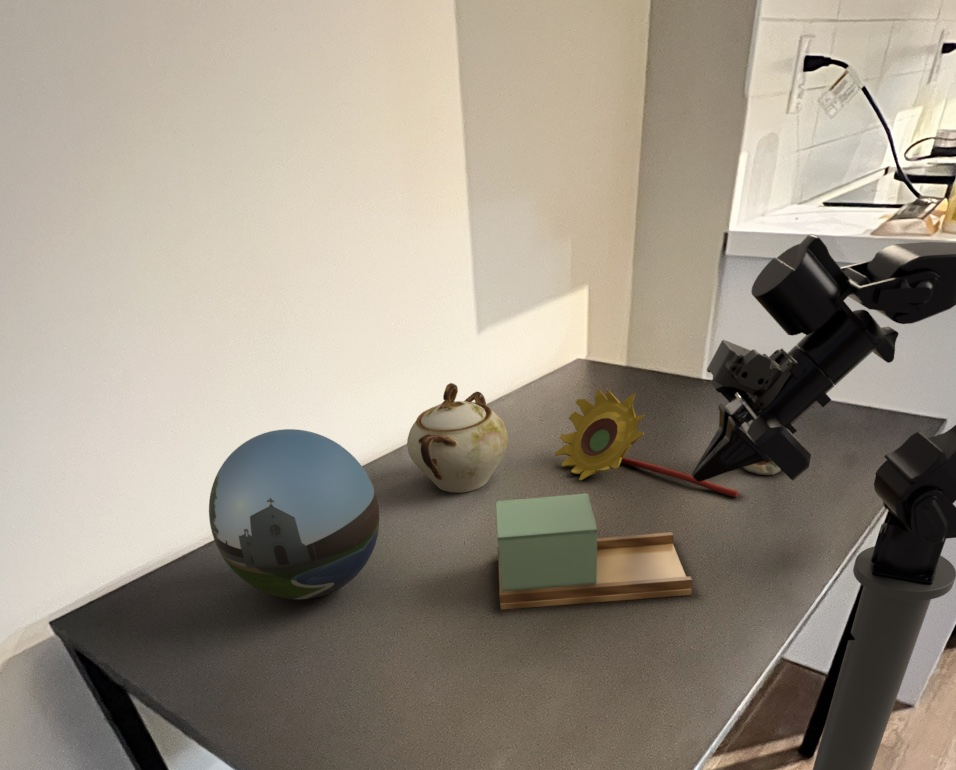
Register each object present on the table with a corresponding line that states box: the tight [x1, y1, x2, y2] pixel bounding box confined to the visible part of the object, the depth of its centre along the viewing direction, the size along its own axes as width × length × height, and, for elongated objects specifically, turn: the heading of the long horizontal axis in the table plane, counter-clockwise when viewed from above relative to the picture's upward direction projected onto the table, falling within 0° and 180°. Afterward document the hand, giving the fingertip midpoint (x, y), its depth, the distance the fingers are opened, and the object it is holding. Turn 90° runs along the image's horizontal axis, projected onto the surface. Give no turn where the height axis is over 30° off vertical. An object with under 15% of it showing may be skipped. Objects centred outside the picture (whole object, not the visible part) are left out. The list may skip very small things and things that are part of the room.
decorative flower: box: [554, 388, 740, 498], centre depth 108 cm, size 13×8×30 cm
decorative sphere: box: [208, 428, 380, 600], centre depth 88 cm, size 20×20×20 cm
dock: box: [497, 531, 693, 611], centre depth 90 cm, size 22×12×2 cm, turn 90°
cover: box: [495, 492, 598, 591], centre depth 88 cm, size 11×9×8 cm
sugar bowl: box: [406, 382, 509, 494], centre depth 110 cm, size 20×15×15 cm
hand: (694, 478), depth 82 cm, fingers closed
